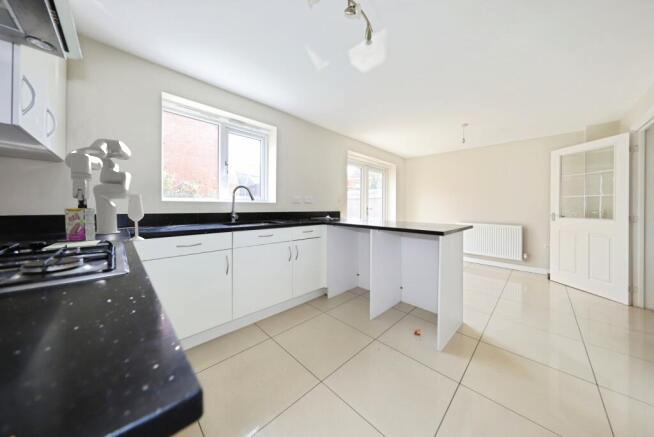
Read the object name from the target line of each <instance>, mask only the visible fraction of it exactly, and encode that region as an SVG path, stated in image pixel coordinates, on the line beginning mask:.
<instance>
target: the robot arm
mask: <svg viewBox="0 0 654 437" xmlns="http://www.w3.org/2000/svg"><path fill="white" fill-rule="evenodd" d="M131 157H132V153H131V150H130V149H129V147H128V146H127V145H126V144H125V143H123V141H120V140H118V139H110V138H109V139H108V138H98V139H96V140H94V141H93V142H92V143H91V145H89V146H86V147H81V148H76V149H73V150H71V151H70V152H69V153H68V154H66V156H65V157H64V158H65V159H64V164H65V165H66V166H67V168H69V169H70V180H72V198H73V199H75V200H76V199H77V208H88V201H87V200H88V199H90V182H91V181H93V180H92V179H93V178H92V171H100V175H99V183H100V184H95V185H94V186H93V187H92V192H93V196H94V200H95V201H94V202H95V211H96V218H95V219H96V231H95V235H110V234H111V235H112V234H120V233H121V230H118V221H117V220H118V216H117V215H118V214H117V205H116V203H114V202H113V201H112V200H127V199H129V194H131V188H132V182H133V180H132V175H131V174H130V173H129V172H127V171H120V167H119V165H118V164H117V163H116V162H115V161H114V160H121V161H122V160H123V161H128V160H130V159H131Z"/></svg>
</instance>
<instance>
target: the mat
mask: <svg viewBox="0 0 654 437" xmlns="http://www.w3.org/2000/svg"><path fill="white" fill-rule="evenodd" d="M100 242H101V239H99V240H97V239H96V240H93V241H64V242H63V241H62V242H55V243H52V244H51V245H48V246H46V247H42V250H54V249H63V248H62V247H64V246H65V245H67V248H66V249H69V248H83V247H85V248H86V247H94V246H96V245H97V244H99V243H100Z"/></svg>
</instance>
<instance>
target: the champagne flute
mask: <svg viewBox="0 0 654 437" xmlns="http://www.w3.org/2000/svg"><path fill="white" fill-rule="evenodd" d="M144 216H145V214H144V207H143V200H142V194H134V193H132V194H131V193H130V194H129V197H128V207H127V217H128V218H129V219H130V220H132V221H133V222H134V232H135V233H134V236H133V237H132V238H130V239H129V241H130V242H131V241H143V240H145V238H143V237H141V236H139V228H138V227H139V223H138V222H139V221H141V220H142V219H143V218H144Z"/></svg>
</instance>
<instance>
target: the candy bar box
mask: <svg viewBox="0 0 654 437" xmlns="http://www.w3.org/2000/svg"><path fill="white" fill-rule="evenodd" d="M64 221H65V222H64V223H65V242H79V241H96V240H97V239H96V234H95V232H96V218H95V208H90V207H89V208H88V207H87V208H78V207H77V208H76V207H73V208H64Z"/></svg>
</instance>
